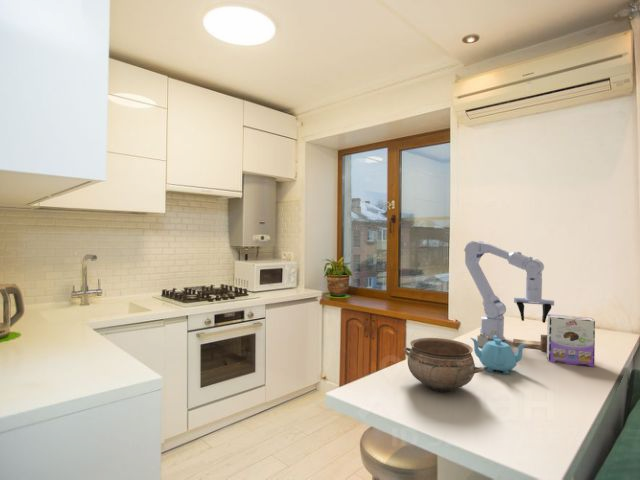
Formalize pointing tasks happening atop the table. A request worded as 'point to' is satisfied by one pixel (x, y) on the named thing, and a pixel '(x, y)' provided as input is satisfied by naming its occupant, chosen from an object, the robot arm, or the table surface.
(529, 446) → the table surface
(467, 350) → the cooking pot
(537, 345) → the board
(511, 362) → the teapot
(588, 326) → the candy box
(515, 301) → the robot arm
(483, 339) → the lighter
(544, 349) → the brown wooden block
